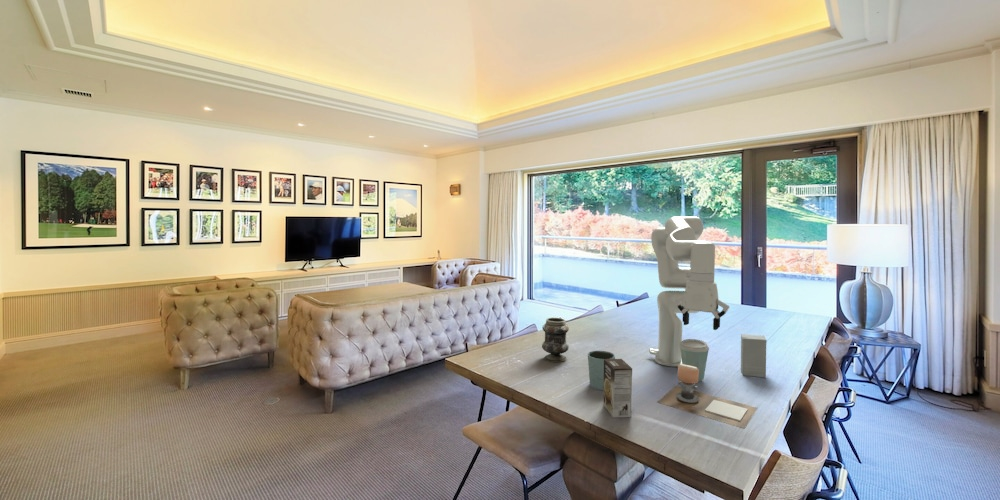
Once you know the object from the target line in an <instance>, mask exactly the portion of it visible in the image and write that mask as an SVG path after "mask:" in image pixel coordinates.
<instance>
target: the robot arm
mask: <svg viewBox="0 0 1000 500" xmlns="http://www.w3.org/2000/svg"><path fill="white" fill-rule="evenodd" d="M703 232H704V224H703V221H702V219H701V218H700V217H697V216H694V215H693V216H686V215H684V216H681V215H680V216H671V217H669V218H668V219H667V220H666V221H665V224H664V226H662V227H656V228H654V229H653V230H652V233H651V239H650V240H651V245H652V249H653V252H654V253H655V257H656V261H657V270H658V280H659V285H660V286H661V287H662V288H665V289H683V290H664V291H661V292H659V293H658V295H657V297H656V298H657V299H656V301H657V309H658V339H657V340H658V347H657V349H656V348H649V351H648V352H649V354H650V355H655V356H654V359H653V360H654V362H656V363H657V364H658V365H662V366H667V367H675V368H676V367H677V368H678V366H679V365H680V364H682V359H681V352H680V348H679V344H680V343H681V341H683V326H686V325H689V324H690V314H697V313H699V312H702V313H703V312H704V313H711V314H712V315H713V316H714V318H712V321H713V322H712V323H713V324H712V329H713V330H714V331H717V330H719V328H720V326H721V318H722V317H724V316H725V314H727V312H728V311H729V310H730V306H729V305H728V304H726V303H725V302H723V301H721V300H719V292H718V291H719V290H718V286H717V285H718V284H717V281H716V282H715V266H716V265H715V261H716V245H715V243H713V242H710V241H709V242H708V241H706V240H698V239H699V238H700V237H701V235H702V234H703ZM679 262H690V263H689V266H687V267H686V266H679ZM719 306H720V307H721V308H722V310H721V311H719V310H718V309H719ZM677 314H682V320H681V319H680V317H679V316H678V315H677Z"/></svg>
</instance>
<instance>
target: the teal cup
mask: <svg viewBox="0 0 1000 500" xmlns="http://www.w3.org/2000/svg"><path fill="white" fill-rule="evenodd" d="M587 359H588V360H587V361H588V364H587V365H588V377H589V378H588V379H589V386H590V388H592V389H594V390H598V391H604V359H616V355H615V354H614V353H613V352H610V351H604V350H592V351H589V352H588V353H587Z"/></svg>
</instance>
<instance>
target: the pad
mask: <svg viewBox="0 0 1000 500" xmlns="http://www.w3.org/2000/svg"><path fill="white" fill-rule="evenodd" d="M747 410H748V409H746V408H743V407H739V406H735V405H732V404H728V403H724V402H721V401H717V400H713V401H712V402H711V403H710V405H709V406H708V407H707V408H706V409H705V411H706V412H710V413H713V414H716V415H720V416H723V417H727V418H730V419H733V420H737V421H741V419H742V418H743V416H744V415H745V413H746V412H747Z"/></svg>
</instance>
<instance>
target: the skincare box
mask: <svg viewBox="0 0 1000 500" xmlns="http://www.w3.org/2000/svg"><path fill="white" fill-rule="evenodd" d="M767 342H768V341H767V339H766V337H765V336H764V335H760V334H748V333H747V334H746V333H740V371H741V374H742V376H746V377H756V378H766V377H767Z"/></svg>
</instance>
